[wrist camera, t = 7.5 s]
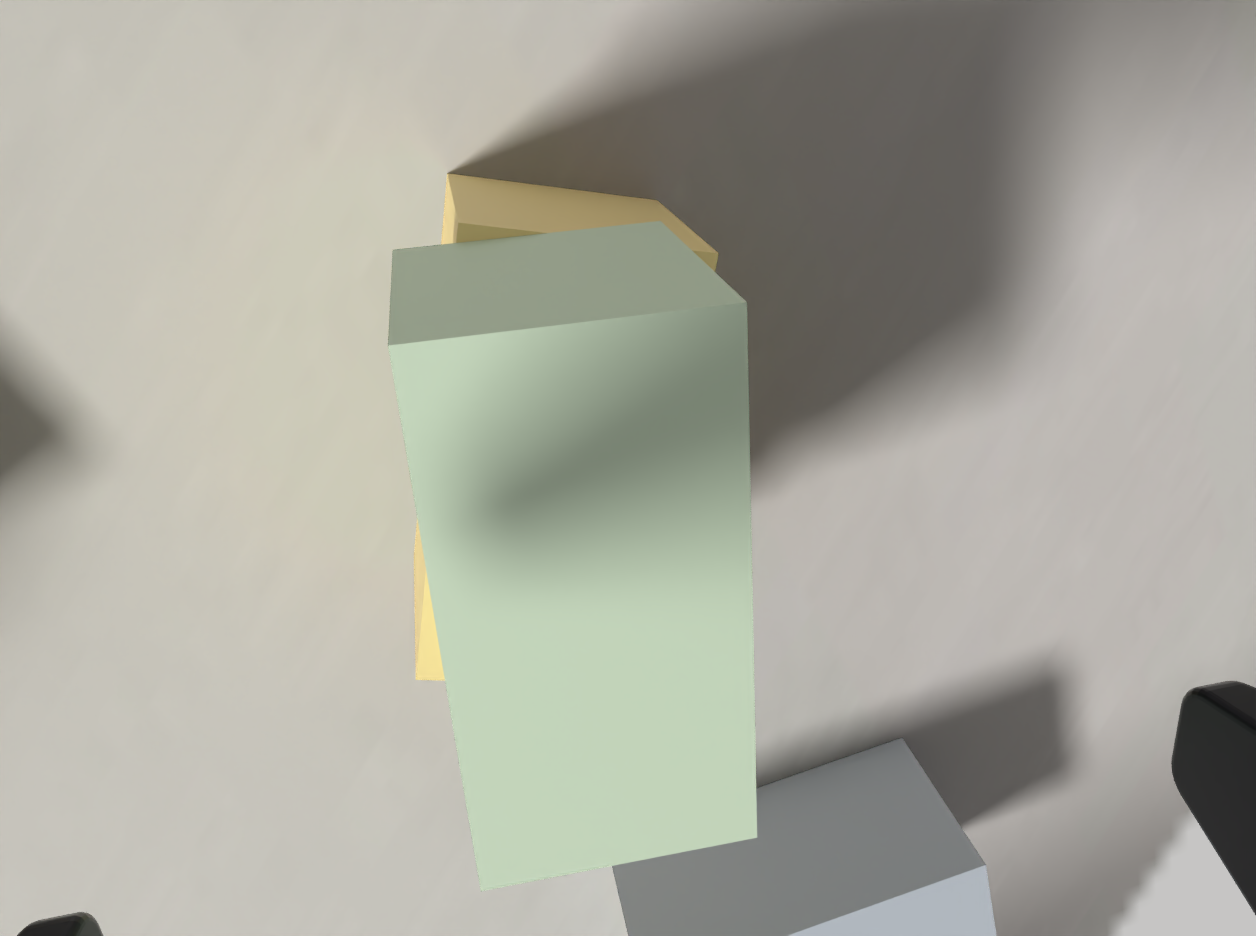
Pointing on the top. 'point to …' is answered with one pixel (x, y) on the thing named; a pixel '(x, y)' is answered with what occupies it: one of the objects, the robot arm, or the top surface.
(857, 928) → the slate brick
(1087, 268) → the top surface
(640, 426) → the sage brick
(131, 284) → the top surface
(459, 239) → the ochre brick
